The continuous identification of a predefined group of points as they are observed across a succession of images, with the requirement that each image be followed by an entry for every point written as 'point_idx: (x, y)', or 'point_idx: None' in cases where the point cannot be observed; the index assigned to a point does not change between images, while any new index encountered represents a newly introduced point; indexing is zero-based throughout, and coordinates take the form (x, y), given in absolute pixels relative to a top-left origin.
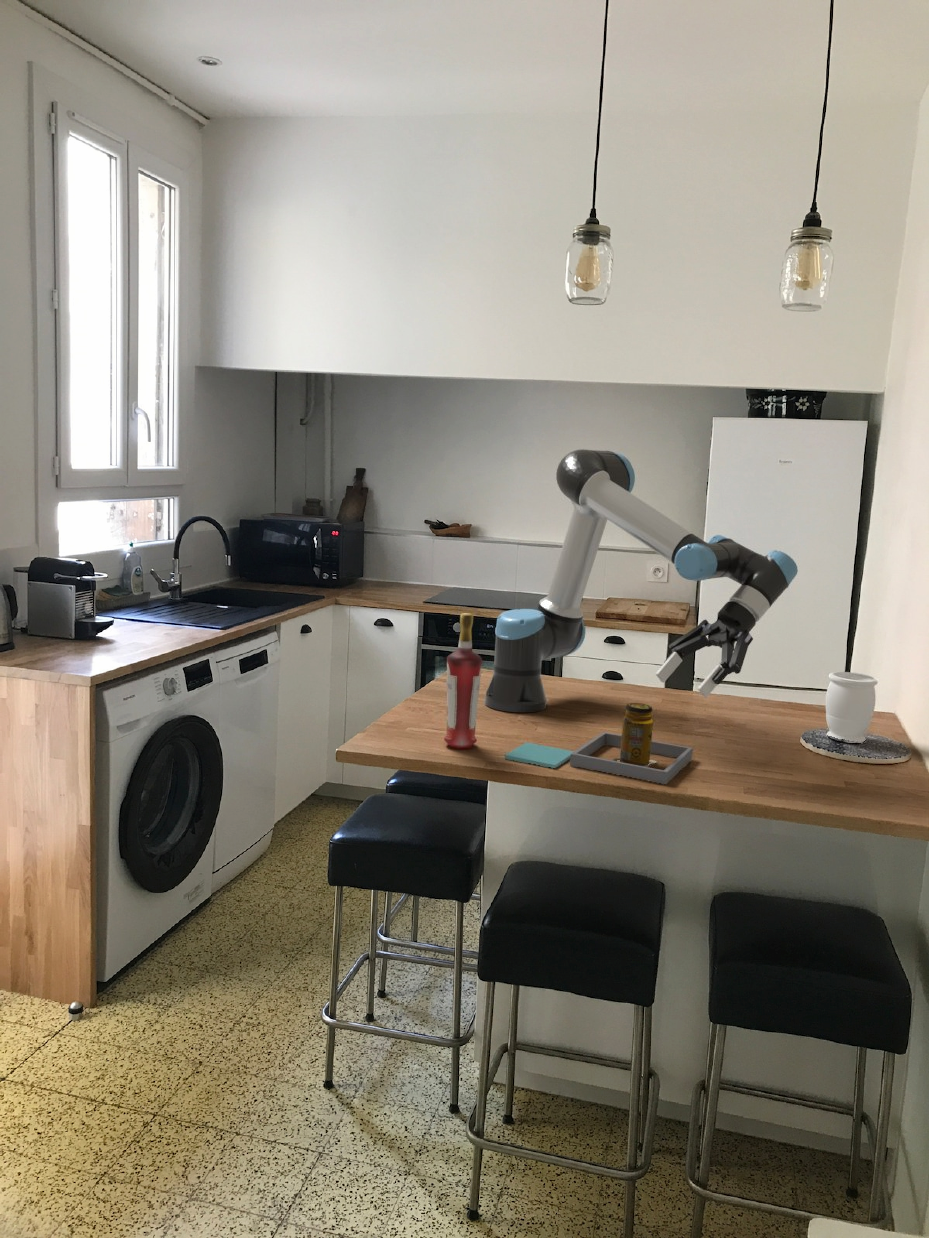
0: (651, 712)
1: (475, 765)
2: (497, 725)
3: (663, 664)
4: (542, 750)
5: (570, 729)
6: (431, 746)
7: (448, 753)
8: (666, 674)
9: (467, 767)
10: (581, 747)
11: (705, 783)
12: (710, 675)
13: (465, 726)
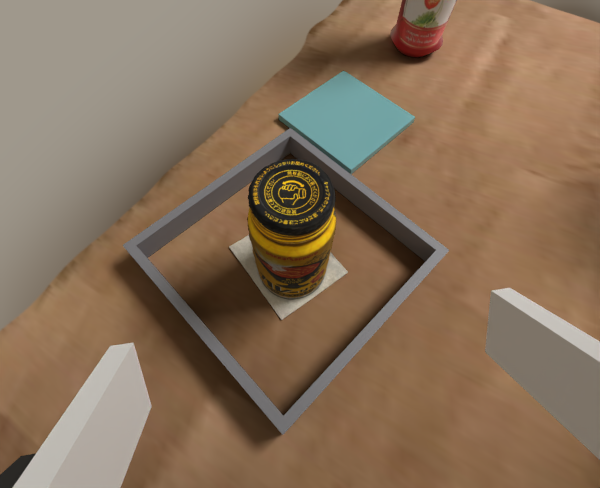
0: (262, 226)
1: (316, 40)
2: (549, 121)
3: (573, 328)
4: (363, 123)
5: (547, 238)
6: None
7: (375, 28)
8: (518, 359)
9: (309, 31)
10: (326, 158)
11: None
12: (54, 438)
13: (401, 5)
